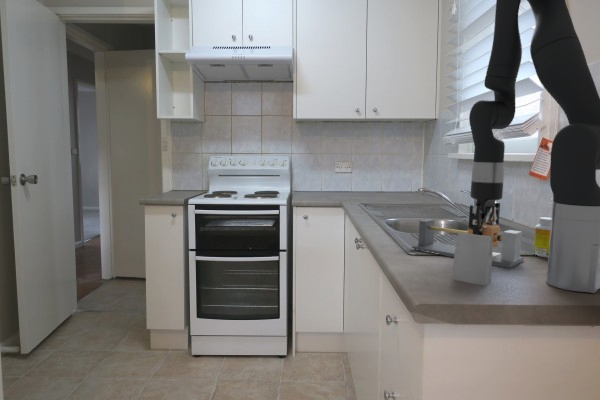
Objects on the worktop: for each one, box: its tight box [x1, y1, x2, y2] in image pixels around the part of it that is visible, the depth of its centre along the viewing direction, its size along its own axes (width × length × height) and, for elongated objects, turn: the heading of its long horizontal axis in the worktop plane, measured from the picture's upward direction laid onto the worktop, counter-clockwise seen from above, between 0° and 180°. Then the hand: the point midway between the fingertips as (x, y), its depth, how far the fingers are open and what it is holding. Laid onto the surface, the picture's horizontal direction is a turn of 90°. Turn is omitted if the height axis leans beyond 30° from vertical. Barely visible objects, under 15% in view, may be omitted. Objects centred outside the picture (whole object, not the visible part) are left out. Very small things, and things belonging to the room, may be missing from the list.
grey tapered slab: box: [452, 233, 493, 287], centre depth 93 cm, size 4×7×10 cm, turn 53°
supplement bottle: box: [532, 216, 552, 259], centre depth 118 cm, size 6×6×10 cm
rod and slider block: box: [411, 218, 525, 269], centre depth 117 cm, size 26×10×8 cm, turn 46°
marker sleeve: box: [467, 224, 501, 249], centre depth 113 cm, size 6×5×5 cm
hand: (483, 243), depth 114 cm, fingers open, 7 cm apart
